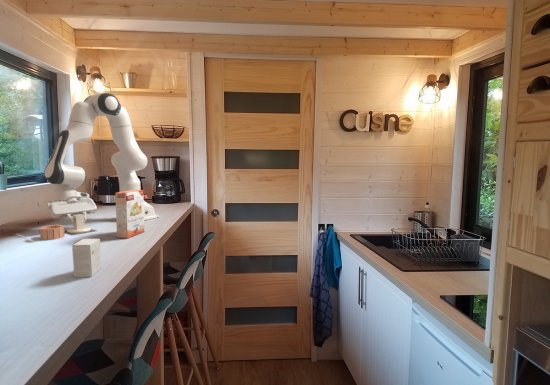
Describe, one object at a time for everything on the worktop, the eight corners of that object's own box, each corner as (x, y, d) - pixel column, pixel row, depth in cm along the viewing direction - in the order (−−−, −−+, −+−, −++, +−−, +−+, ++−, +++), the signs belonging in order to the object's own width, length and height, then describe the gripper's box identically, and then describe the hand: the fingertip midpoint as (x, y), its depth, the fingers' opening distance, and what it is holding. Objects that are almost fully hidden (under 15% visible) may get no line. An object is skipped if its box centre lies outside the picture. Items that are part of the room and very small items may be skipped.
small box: (84, 269, 120) (82, 238, 119) (101, 268, 121) (100, 238, 120) (73, 277, 112) (71, 244, 111) (91, 277, 113) (90, 244, 112)
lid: (85, 228, 179) (84, 212, 178) (94, 230, 173) (93, 214, 172) (63, 231, 172) (62, 215, 171) (73, 234, 166) (72, 217, 165)
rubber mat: (86, 228, 181) (86, 227, 181) (97, 231, 174) (97, 230, 174) (60, 232, 171) (60, 231, 171) (71, 236, 164) (71, 235, 164)
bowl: (59, 235, 166) (58, 224, 166) (67, 238, 161) (67, 226, 160) (37, 238, 159) (36, 227, 159) (45, 242, 154) (44, 230, 153)
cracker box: (128, 238, 161) (126, 192, 158) (116, 238, 162) (114, 192, 159) (145, 231, 174) (143, 189, 172) (134, 231, 176) (132, 189, 173)
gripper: (47, 197, 166) (57, 220, 162) (91, 193, 183) (102, 214, 178) (44, 206, 170) (54, 229, 165) (88, 201, 186) (98, 222, 181)
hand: (79, 221), depth 172 cm, fingers closed on lid, 3 cm apart
